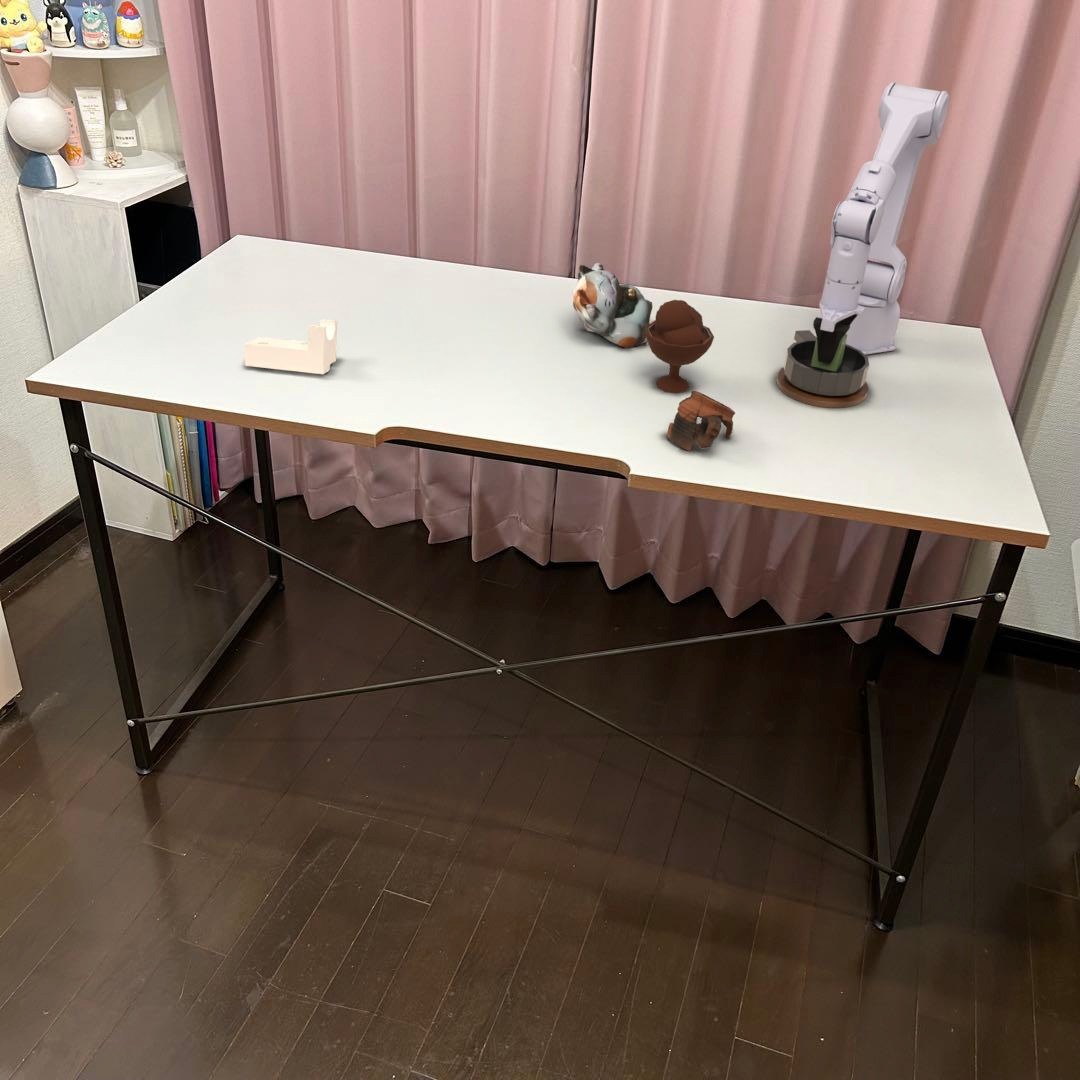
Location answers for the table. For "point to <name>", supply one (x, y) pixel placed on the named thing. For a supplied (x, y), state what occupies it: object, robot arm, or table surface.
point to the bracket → (296, 350)
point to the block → (836, 360)
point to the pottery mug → (710, 426)
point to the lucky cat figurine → (611, 307)
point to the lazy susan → (820, 399)
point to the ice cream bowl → (677, 341)
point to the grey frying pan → (823, 380)
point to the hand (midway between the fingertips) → (827, 356)
